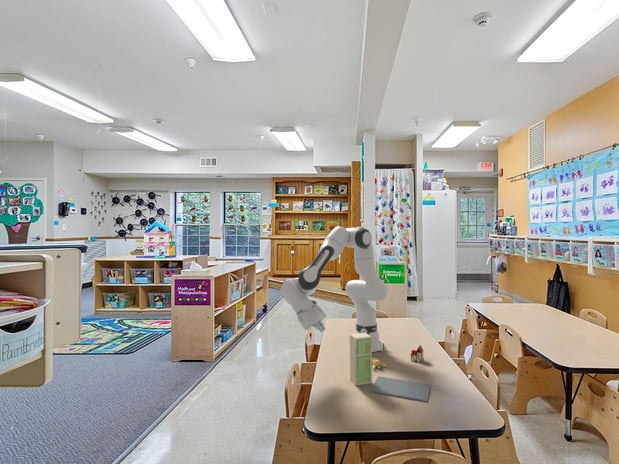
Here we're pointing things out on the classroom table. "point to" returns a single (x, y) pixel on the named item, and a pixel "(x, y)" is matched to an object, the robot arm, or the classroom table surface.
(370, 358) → the toy refrigerator
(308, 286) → the robot arm
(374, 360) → the character toy
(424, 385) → the mat
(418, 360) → the toy house
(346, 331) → the classroom table surface
